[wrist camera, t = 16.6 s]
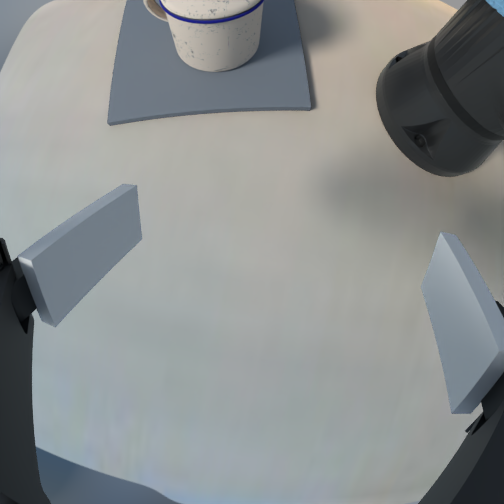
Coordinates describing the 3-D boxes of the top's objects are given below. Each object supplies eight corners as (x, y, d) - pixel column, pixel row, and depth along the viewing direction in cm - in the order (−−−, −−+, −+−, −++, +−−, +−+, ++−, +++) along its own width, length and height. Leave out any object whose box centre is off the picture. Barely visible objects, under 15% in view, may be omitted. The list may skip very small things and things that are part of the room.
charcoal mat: (290, -10, 29) (291, -14, 28) (309, 110, 29) (311, 107, 28) (128, 3, 29) (126, 0, 28) (110, 125, 29) (107, 122, 28)
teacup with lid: (273, 25, 28) (285, -52, 17) (242, 86, 28) (244, 7, 16) (174, 3, 28) (157, -68, 16) (136, 59, 28) (100, -11, 16)
